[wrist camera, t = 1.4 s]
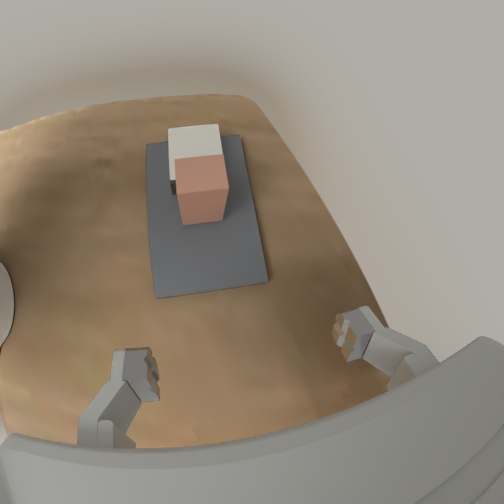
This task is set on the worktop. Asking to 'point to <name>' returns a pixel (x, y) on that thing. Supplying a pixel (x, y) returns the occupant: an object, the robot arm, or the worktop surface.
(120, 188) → the worktop surface
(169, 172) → the stand
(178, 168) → the salmon pink rectangular block
